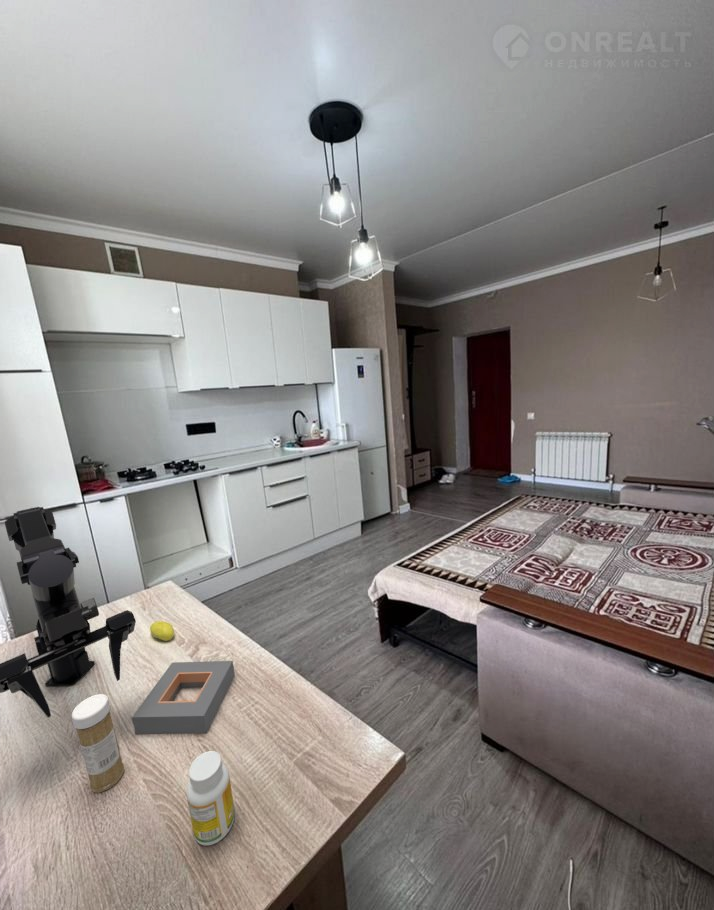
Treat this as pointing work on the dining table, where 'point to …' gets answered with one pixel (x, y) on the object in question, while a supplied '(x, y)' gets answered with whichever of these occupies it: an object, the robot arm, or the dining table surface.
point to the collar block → (184, 715)
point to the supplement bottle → (210, 798)
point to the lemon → (162, 630)
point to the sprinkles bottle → (98, 742)
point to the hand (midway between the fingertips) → (85, 697)
